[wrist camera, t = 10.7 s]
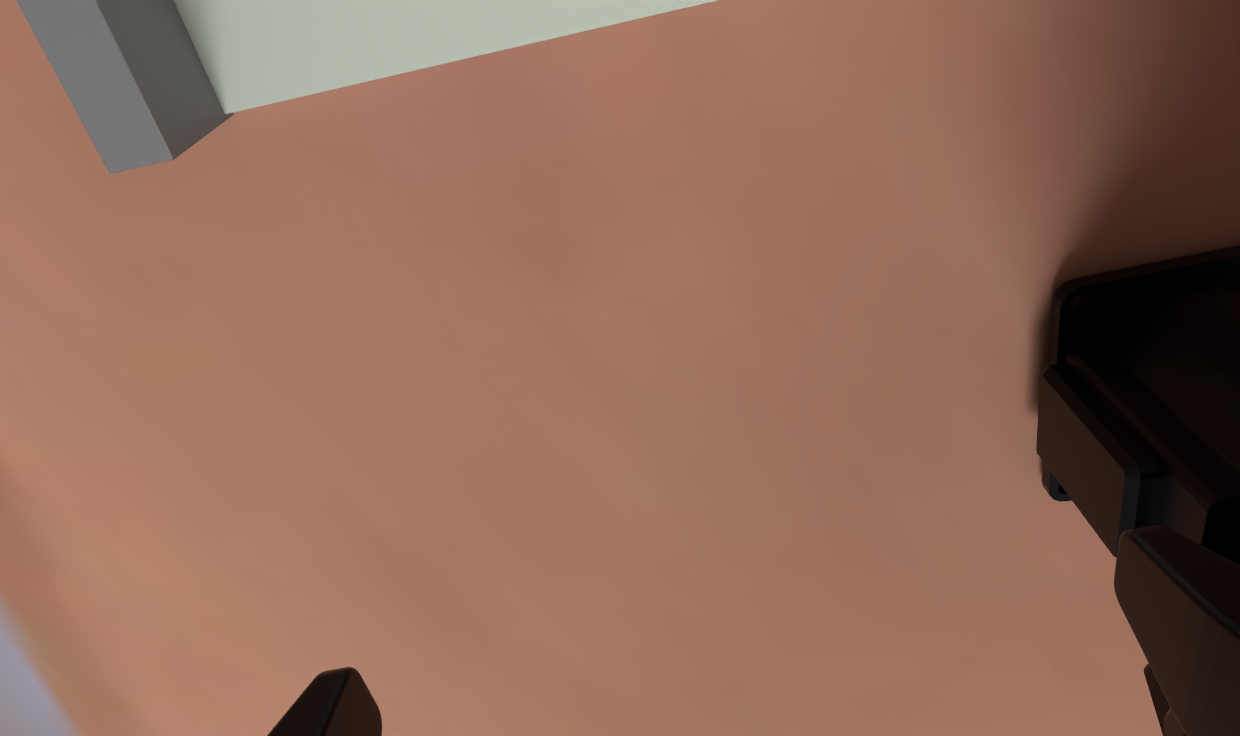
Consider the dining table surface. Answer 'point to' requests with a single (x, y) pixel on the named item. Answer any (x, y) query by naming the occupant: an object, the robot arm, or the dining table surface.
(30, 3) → the corner walls
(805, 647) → the dining table surface
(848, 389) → the dining table surface
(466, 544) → the dining table surface
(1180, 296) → the robot arm
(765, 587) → the dining table surface
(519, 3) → the mat
